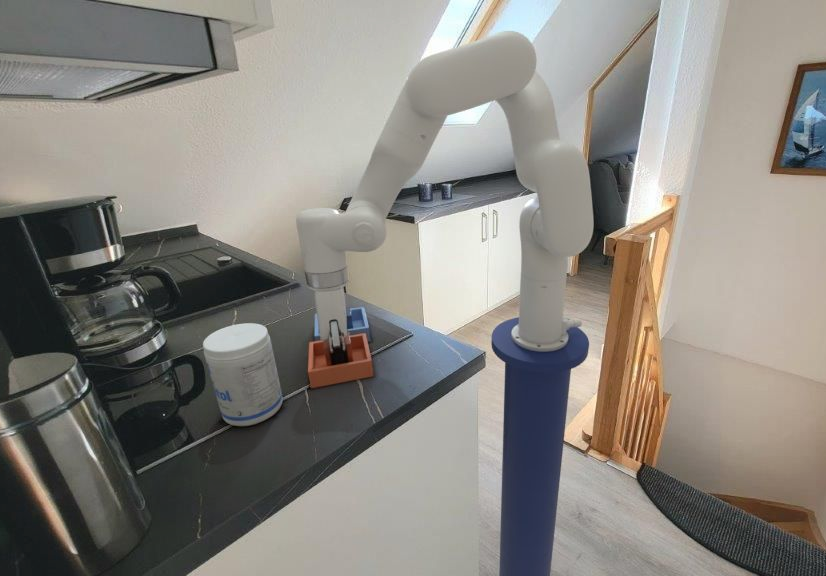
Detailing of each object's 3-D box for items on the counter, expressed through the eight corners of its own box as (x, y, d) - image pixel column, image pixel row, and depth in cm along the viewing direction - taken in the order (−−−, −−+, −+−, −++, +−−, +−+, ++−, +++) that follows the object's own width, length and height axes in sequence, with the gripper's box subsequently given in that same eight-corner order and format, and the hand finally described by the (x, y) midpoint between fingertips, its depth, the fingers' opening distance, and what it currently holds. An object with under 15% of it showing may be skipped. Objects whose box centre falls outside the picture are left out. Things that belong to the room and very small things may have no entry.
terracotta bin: (367, 347, 89) (365, 333, 88) (373, 376, 79) (371, 360, 78) (311, 357, 86) (309, 342, 85) (310, 388, 76) (307, 372, 74)
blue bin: (365, 319, 102) (363, 306, 100) (370, 341, 92) (369, 327, 90) (317, 327, 98) (314, 313, 97) (316, 350, 88) (314, 336, 87)
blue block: (352, 325, 98) (350, 306, 96) (354, 334, 93) (351, 315, 91) (331, 328, 96) (328, 309, 94) (331, 338, 92) (328, 318, 90)
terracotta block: (351, 352, 85) (349, 331, 83) (353, 365, 80) (350, 343, 79) (327, 357, 83) (323, 335, 82) (327, 370, 79) (323, 347, 77)
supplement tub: (211, 418, 68) (186, 342, 63) (259, 387, 76) (241, 317, 71) (249, 436, 64) (226, 357, 59) (296, 401, 72) (280, 329, 66)
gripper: (307, 264, 81) (320, 343, 88) (304, 296, 66) (320, 388, 73) (345, 260, 83) (355, 337, 90) (351, 290, 69) (363, 380, 75)
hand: (340, 359), depth 82 cm, fingers closed on terracotta block, 5 cm apart
